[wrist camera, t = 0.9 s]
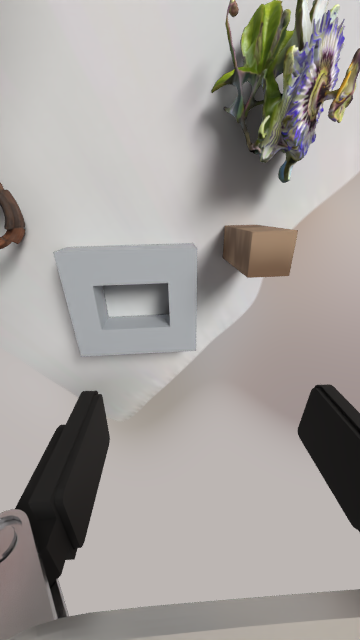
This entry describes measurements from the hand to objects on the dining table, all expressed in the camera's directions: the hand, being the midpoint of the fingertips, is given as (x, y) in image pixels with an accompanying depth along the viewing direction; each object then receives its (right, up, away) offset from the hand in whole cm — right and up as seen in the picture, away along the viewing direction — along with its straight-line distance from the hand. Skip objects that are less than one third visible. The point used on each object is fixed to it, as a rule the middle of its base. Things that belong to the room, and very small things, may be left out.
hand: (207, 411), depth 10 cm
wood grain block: (+6, +14, +19) cm, 25 cm away
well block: (-7, +7, +21) cm, 24 cm away
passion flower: (+7, +26, +14) cm, 30 cm away
